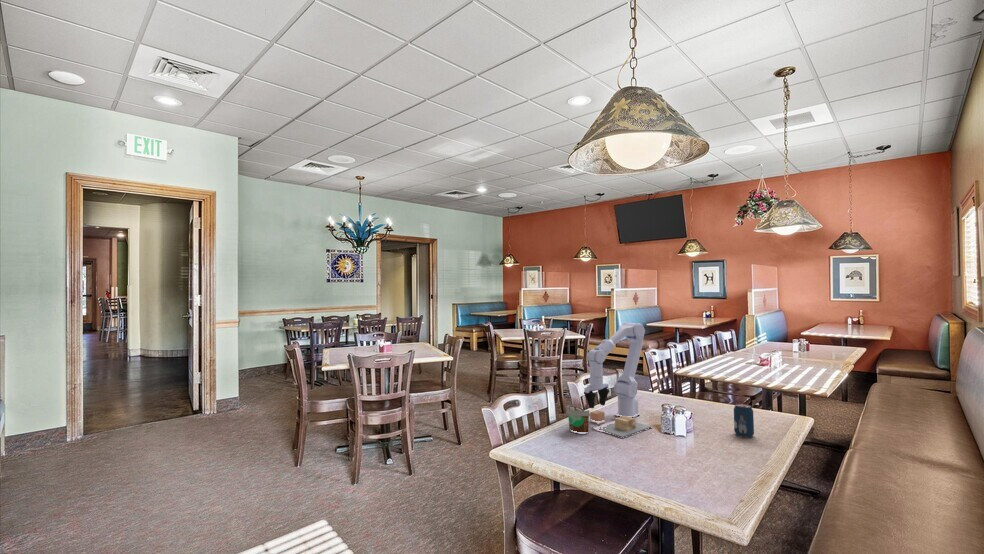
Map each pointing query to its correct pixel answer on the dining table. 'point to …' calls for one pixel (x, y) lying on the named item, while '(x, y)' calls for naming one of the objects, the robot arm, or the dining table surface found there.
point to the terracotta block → (597, 415)
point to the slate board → (623, 433)
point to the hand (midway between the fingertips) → (597, 406)
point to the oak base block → (625, 423)
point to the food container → (578, 419)
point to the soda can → (743, 420)
